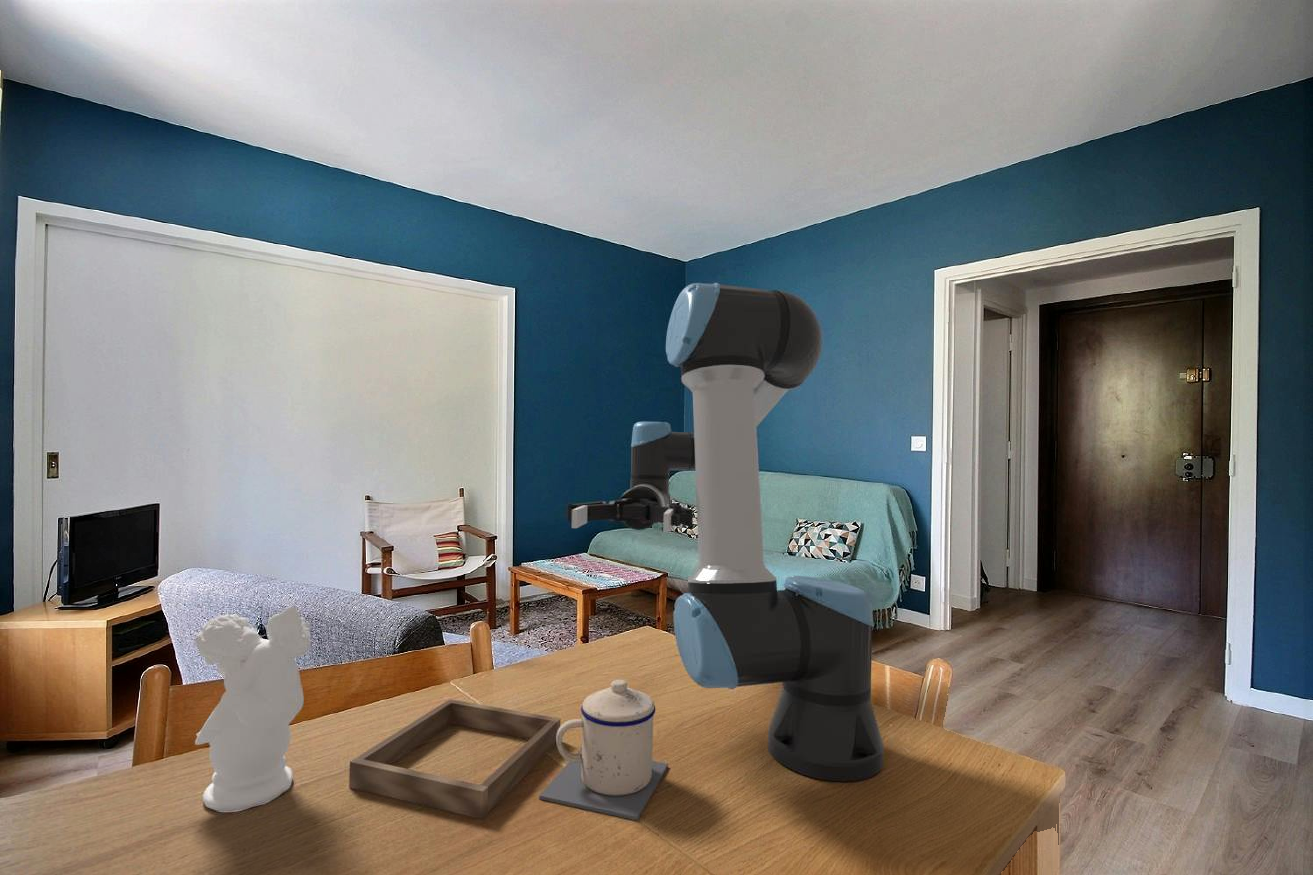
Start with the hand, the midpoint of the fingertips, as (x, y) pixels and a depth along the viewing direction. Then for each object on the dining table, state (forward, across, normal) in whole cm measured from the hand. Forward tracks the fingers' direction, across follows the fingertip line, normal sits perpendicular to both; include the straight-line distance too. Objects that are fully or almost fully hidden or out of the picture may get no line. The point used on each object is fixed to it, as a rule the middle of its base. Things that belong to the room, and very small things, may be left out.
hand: (619, 521), depth 90 cm
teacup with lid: (+14, -2, -30) cm, 33 cm away
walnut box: (+13, +17, -30) cm, 37 cm away
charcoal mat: (+14, -2, -30) cm, 33 cm away
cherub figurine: (+22, +38, -30) cm, 53 cm away
